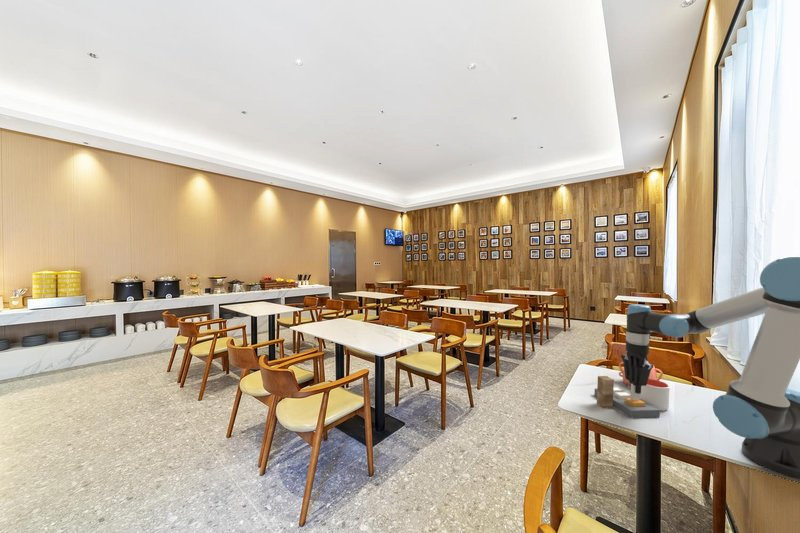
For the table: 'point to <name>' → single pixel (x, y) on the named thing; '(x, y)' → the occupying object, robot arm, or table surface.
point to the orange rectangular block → (634, 403)
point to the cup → (656, 394)
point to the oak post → (605, 392)
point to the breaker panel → (628, 410)
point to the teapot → (651, 376)
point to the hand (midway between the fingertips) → (634, 399)
